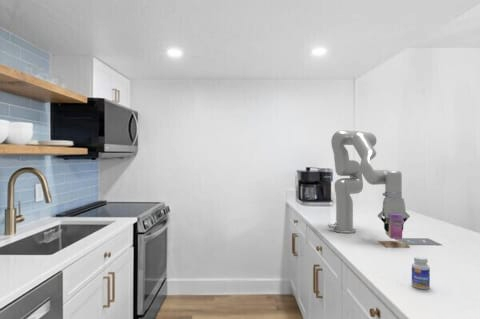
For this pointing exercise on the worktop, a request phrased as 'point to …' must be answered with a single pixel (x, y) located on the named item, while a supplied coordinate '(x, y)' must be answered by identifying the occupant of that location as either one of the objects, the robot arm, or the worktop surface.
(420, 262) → the pill bottle
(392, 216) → the box
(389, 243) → the wooden pad
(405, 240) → the tile
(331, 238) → the worktop surface
